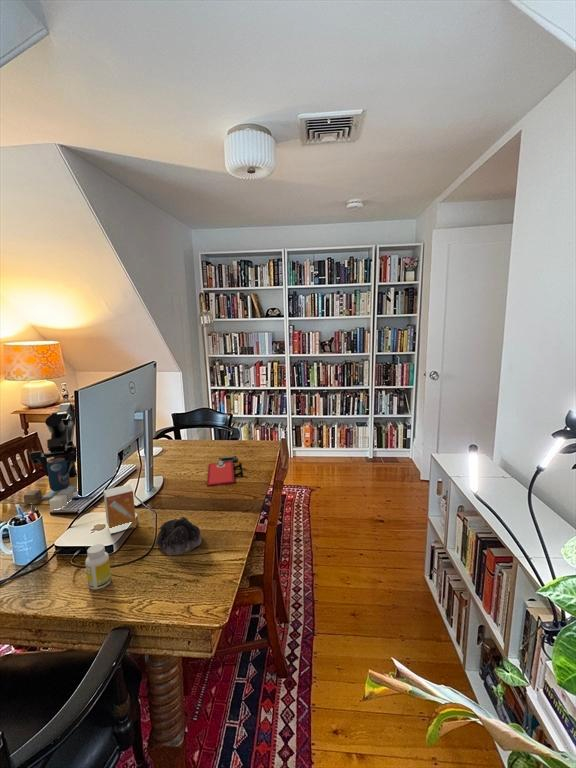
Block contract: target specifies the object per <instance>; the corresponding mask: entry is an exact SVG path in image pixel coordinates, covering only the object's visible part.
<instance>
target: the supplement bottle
mask: <svg viewBox="0 0 576 768" xmlns="http://www.w3.org/2000/svg"><path fill="white" fill-rule="evenodd" d="M86 553H87V554H86V555H87V557H86V559H85V562H84V564H85V571H86V577H87V578H86V579H87V585H88V588H89V589H91V590H101V589H103V588H105V587H107V586H108V585H109V584H110V583H111V582H112V581H111V580H112V572H111V571H112V569H111V563H110V557H109V556H110V555H109V553H108V552H107V551H106V548H105V544H102V543H98V544H97V543H95V544H94V545H92V546H89V547H88V549H87V550H86Z"/></svg>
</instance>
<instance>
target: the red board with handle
mask: <svg viewBox="0 0 576 768" xmlns="http://www.w3.org/2000/svg"><path fill="white" fill-rule="evenodd" d="M237 461H238V460H237V456H236V455H234V456H226V457H225V456H224V457H219V458H218V462H216V463H208V468H207V479H206V480H207V481H206V487H212V486H213V487H214V486H222V485H223V486H224V485H232V484H234V485H235V484H236V483H235V481H236V480H235V478H236V477H239V476H240V477H241V478H243V477H244V473H243V468H242V467H243V466H242V465H243V464H242V462H239V463H238V464H237V465H234V462H237ZM235 469H239V472H237V473H234V472H235V471H234V470H235Z"/></svg>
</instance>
